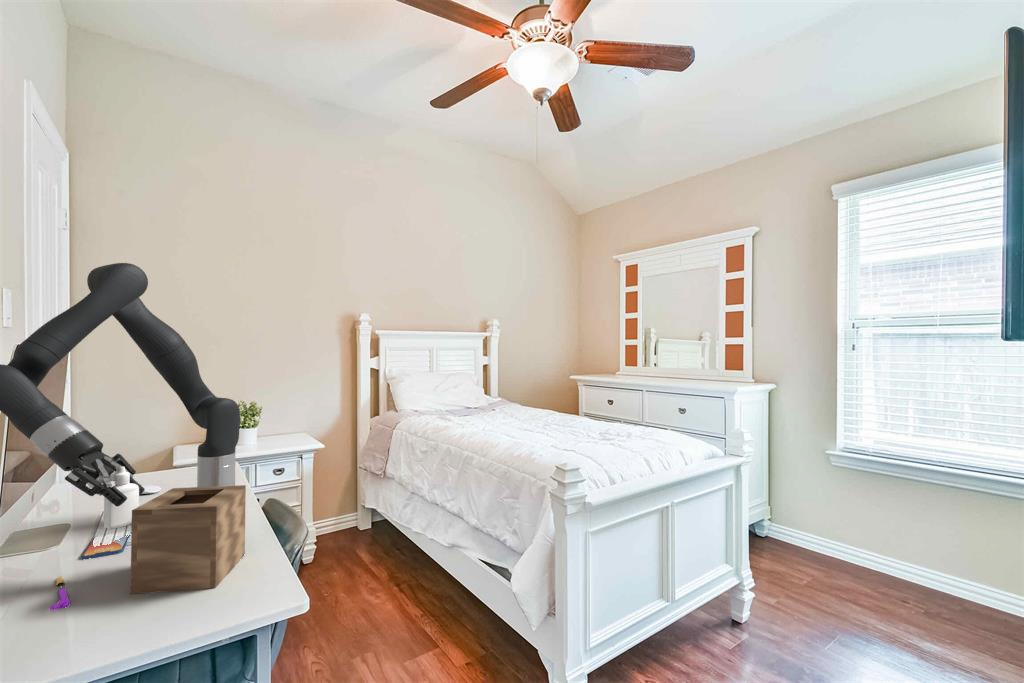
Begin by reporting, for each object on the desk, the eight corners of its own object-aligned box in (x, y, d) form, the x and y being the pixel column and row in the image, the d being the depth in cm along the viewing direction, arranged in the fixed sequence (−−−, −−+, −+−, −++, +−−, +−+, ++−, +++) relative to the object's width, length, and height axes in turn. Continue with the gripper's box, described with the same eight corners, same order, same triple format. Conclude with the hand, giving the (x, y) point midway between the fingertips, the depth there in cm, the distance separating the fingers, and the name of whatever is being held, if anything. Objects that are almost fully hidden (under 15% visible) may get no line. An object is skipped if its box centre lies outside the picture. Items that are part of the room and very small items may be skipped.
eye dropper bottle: (138, 524, 99) (139, 467, 99) (103, 531, 96) (104, 471, 96) (138, 518, 103) (139, 463, 103) (104, 524, 99) (105, 466, 99)
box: (172, 560, 106) (173, 488, 107) (244, 555, 109) (245, 485, 109) (130, 594, 92) (131, 510, 92) (215, 587, 94) (216, 506, 94)
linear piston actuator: (71, 606, 87) (63, 579, 98) (69, 601, 87) (61, 573, 98) (51, 616, 85) (45, 586, 96) (49, 610, 85) (43, 581, 96)
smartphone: (132, 534, 123) (132, 530, 123) (122, 554, 110) (122, 549, 110) (94, 540, 119) (94, 535, 119) (80, 561, 106) (80, 556, 106)
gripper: (54, 435, 91) (124, 495, 93) (105, 423, 105) (165, 475, 107) (22, 464, 90) (93, 524, 92) (78, 448, 104) (138, 500, 106)
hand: (131, 497), depth 100 cm, fingers closed on eye dropper bottle, 5 cm apart
